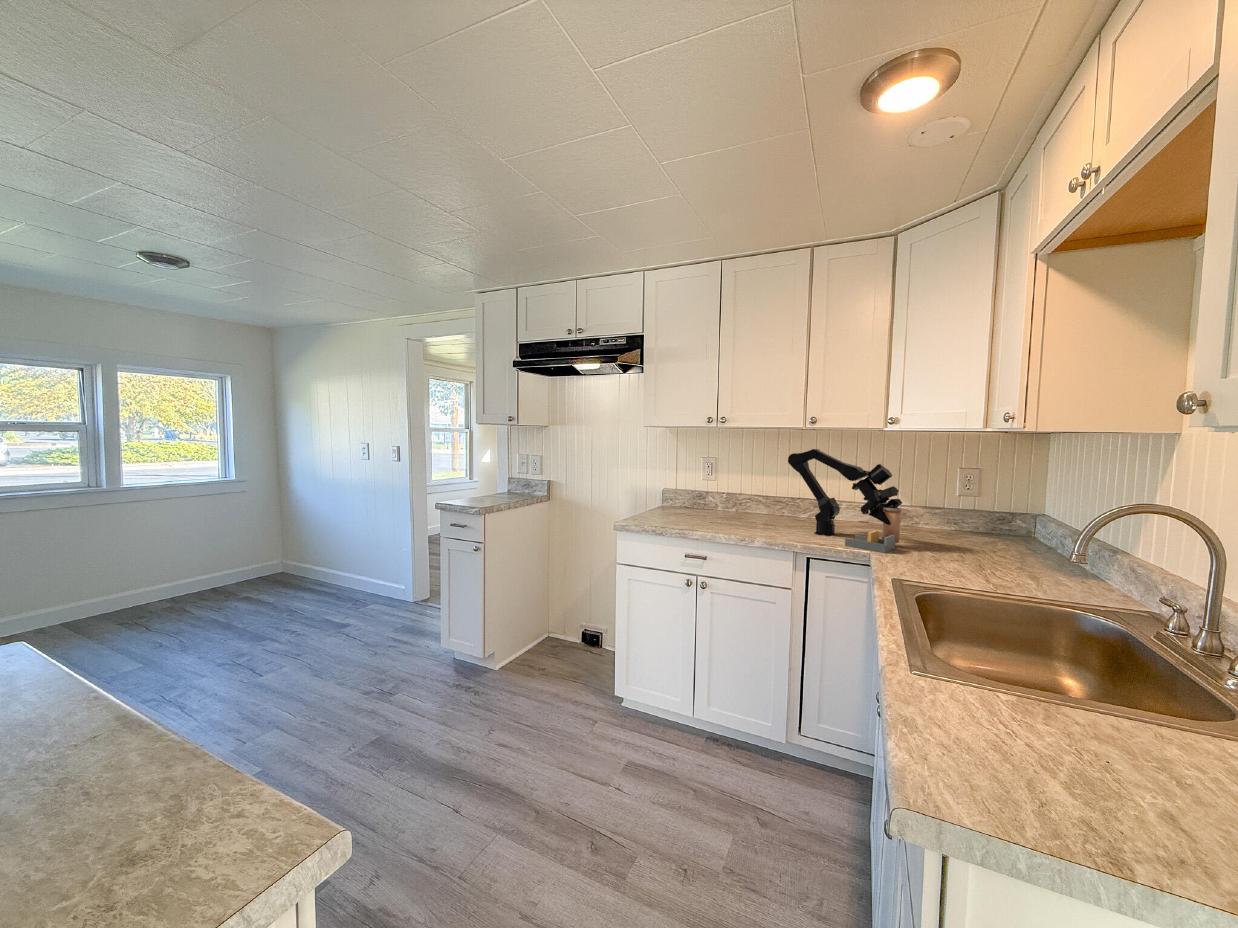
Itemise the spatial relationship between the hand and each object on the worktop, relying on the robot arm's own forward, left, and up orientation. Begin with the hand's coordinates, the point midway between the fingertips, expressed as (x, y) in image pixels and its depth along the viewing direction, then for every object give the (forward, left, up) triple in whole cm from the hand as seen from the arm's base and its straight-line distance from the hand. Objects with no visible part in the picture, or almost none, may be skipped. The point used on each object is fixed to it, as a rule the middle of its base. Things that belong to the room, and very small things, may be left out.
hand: (894, 523), depth 189 cm
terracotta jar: (-1, 0, -7) cm, 7 cm away
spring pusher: (-5, -9, -8) cm, 13 cm away
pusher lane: (-6, -9, -9) cm, 14 cm away
